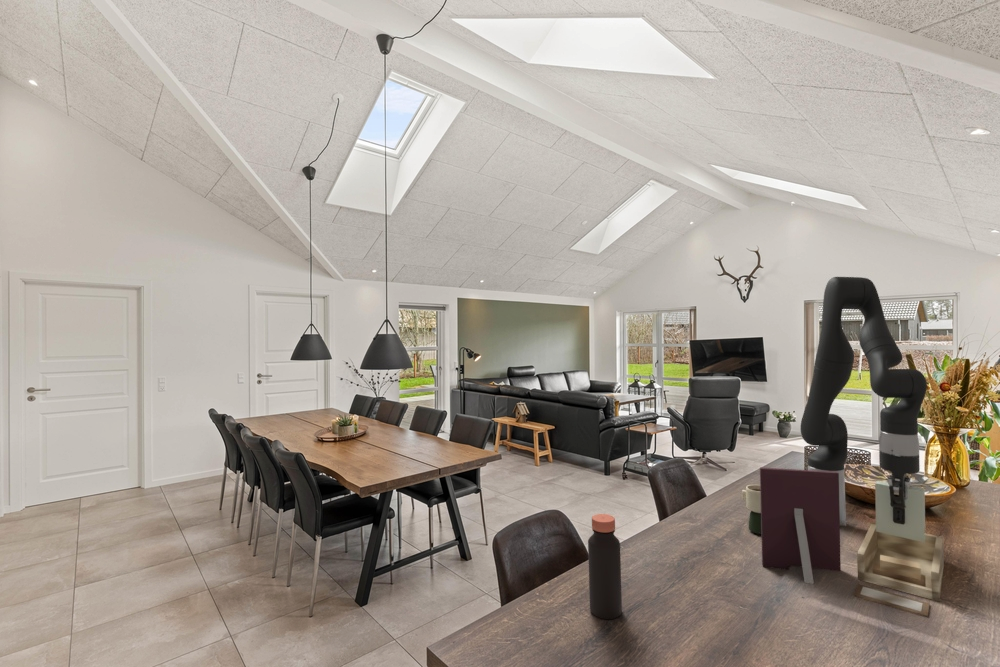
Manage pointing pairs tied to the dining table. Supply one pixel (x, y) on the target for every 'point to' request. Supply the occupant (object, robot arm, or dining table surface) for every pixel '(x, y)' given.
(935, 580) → the tray
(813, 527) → the picture frame
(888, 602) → the board
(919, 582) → the offcut lower
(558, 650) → the dining table surface
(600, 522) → the bottle
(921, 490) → the pale green slanted prism
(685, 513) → the dining table surface
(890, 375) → the robot arm
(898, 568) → the offcut upper
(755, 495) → the character mug
